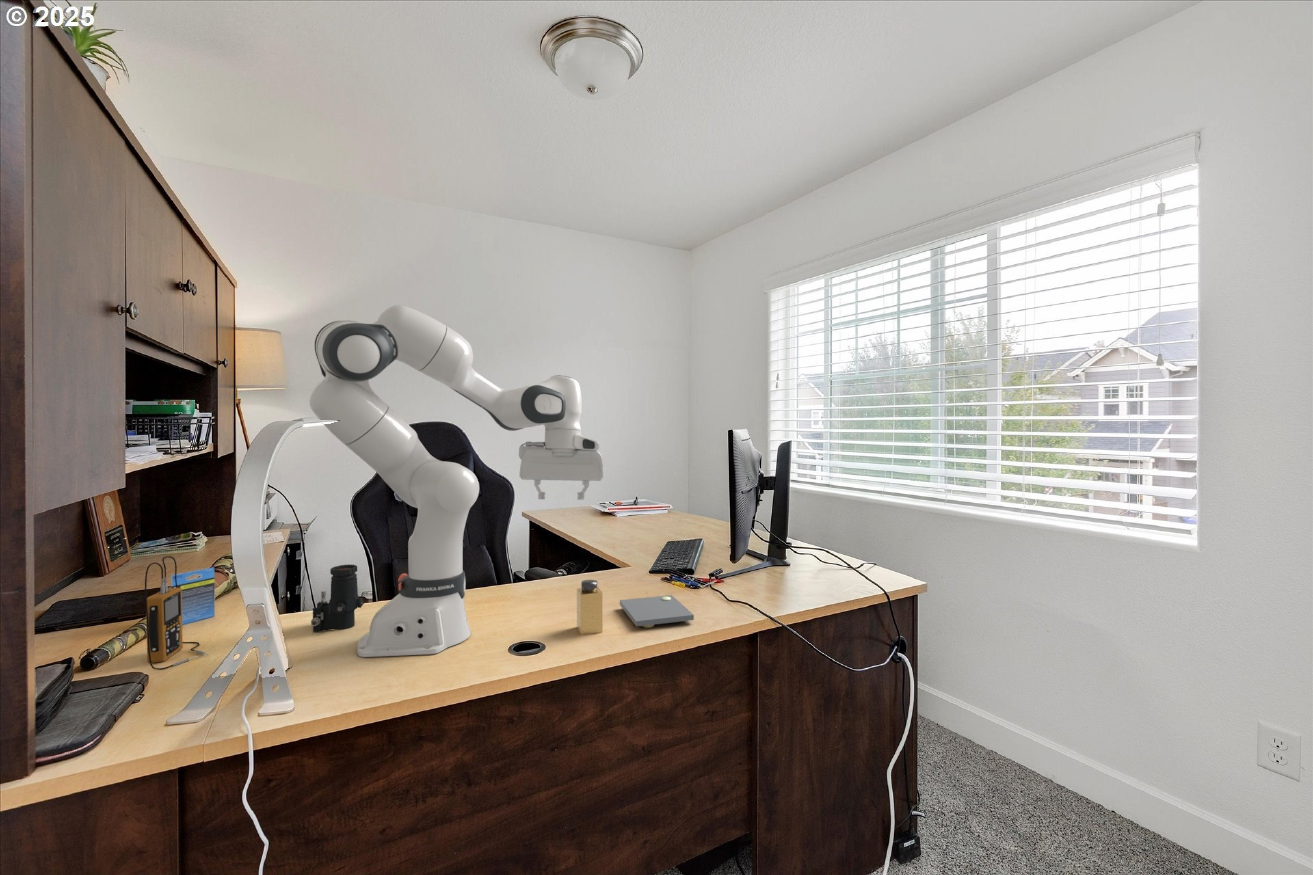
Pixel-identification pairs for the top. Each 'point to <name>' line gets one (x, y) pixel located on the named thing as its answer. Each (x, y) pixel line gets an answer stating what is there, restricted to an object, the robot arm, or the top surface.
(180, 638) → the multimeter
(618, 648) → the top surface
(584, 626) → the block with dome knob
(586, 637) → the top surface
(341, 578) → the scope
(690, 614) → the base
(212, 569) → the label tape box
